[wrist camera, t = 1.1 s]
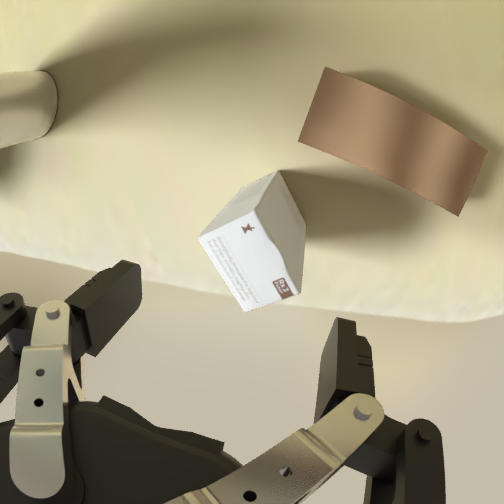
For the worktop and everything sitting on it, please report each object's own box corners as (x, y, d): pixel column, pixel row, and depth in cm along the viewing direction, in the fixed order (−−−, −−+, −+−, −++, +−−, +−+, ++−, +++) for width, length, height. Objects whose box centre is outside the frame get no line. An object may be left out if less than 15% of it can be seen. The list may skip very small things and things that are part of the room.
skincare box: (239, 188, 29) (188, 236, 19) (281, 167, 28) (252, 204, 17) (270, 243, 31) (239, 317, 20) (311, 226, 29) (302, 295, 19)
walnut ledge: (301, 136, 26) (297, 141, 22) (324, 75, 23) (325, 66, 19) (438, 199, 25) (458, 216, 21) (463, 143, 22) (487, 150, 18)
